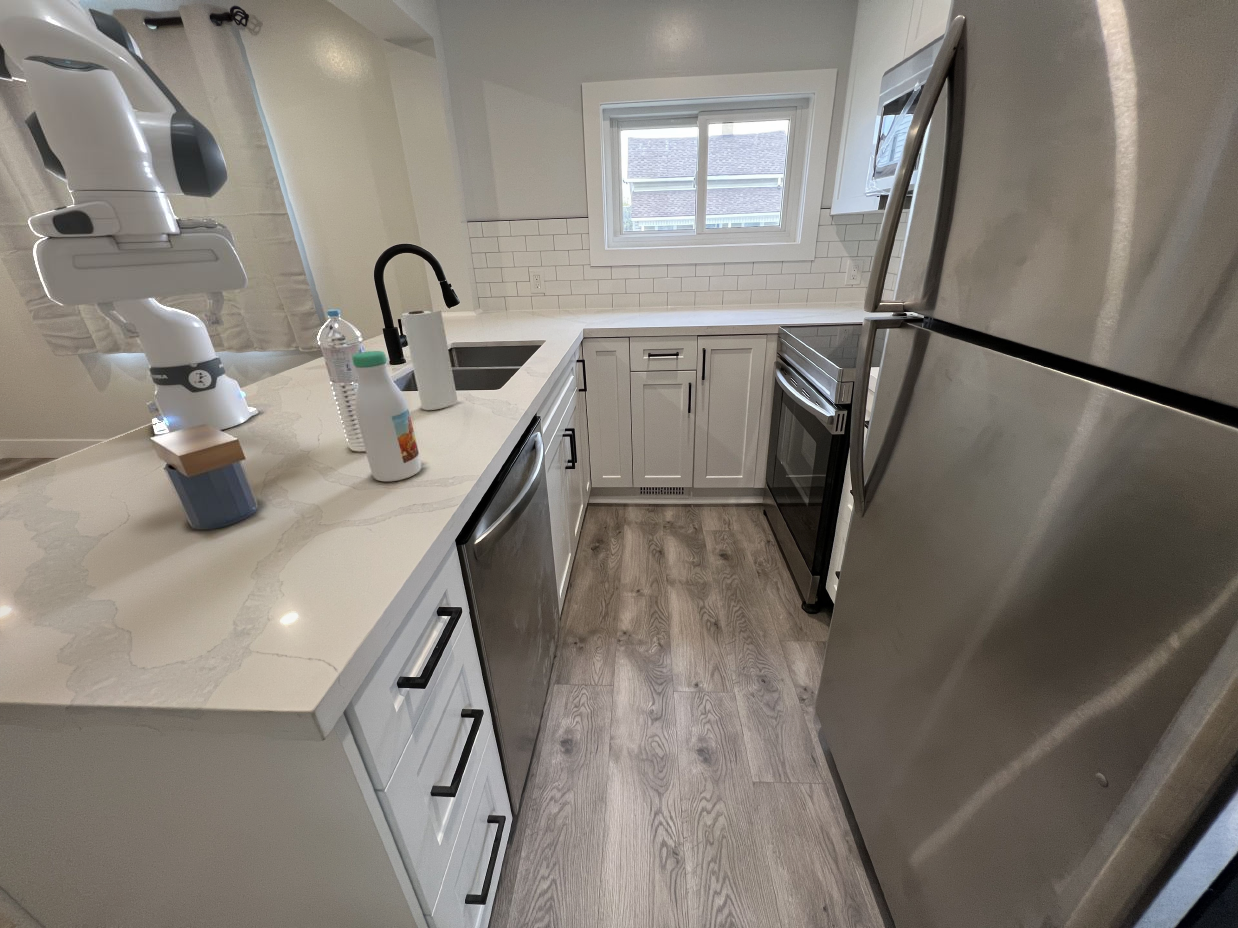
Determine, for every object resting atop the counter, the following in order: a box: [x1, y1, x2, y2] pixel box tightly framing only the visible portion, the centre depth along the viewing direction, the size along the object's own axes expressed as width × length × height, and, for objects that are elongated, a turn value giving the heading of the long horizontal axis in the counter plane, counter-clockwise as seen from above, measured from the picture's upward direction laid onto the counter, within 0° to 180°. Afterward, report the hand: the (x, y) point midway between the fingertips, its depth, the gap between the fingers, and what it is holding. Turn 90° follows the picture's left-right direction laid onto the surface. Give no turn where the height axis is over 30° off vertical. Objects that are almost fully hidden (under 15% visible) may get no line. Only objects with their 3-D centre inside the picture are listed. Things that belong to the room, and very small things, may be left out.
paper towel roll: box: [401, 310, 459, 411], centre depth 111 cm, size 7×6×21 cm
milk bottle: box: [352, 350, 422, 482], centre depth 79 cm, size 8×8×20 cm
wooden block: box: [149, 424, 247, 477], centre depth 68 cm, size 12×6×3 cm, turn 54°
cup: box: [163, 461, 259, 531], centre depth 70 cm, size 8×8×9 cm
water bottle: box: [317, 309, 366, 453], centre depth 90 cm, size 7×7×25 cm
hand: (175, 331), depth 68 cm, fingers open, 8 cm apart
